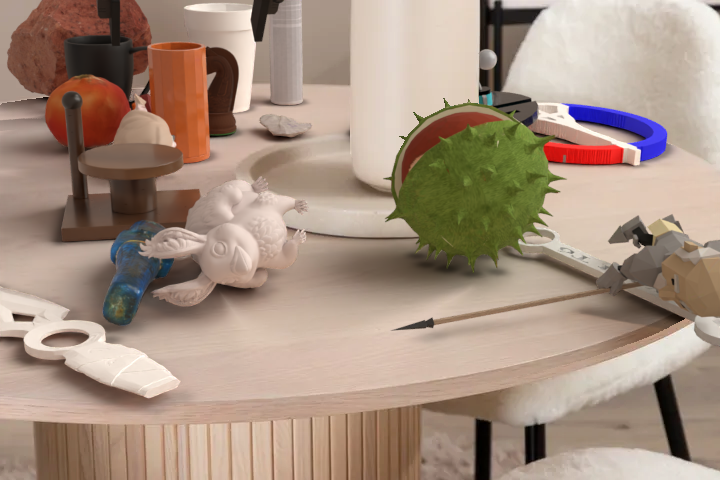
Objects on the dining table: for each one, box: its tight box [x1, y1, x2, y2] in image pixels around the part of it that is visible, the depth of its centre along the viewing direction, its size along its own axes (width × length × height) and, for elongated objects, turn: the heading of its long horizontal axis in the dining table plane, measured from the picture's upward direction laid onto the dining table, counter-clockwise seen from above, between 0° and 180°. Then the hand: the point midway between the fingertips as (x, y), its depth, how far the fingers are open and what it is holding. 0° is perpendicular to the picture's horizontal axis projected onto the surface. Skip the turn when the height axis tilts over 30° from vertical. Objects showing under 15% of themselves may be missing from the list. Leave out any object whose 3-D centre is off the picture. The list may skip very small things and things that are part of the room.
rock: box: [6, 0, 153, 97], centre depth 145 cm, size 20×15×15 cm
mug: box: [64, 35, 150, 111], centre depth 133 cm, size 8×12×10 cm
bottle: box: [268, 0, 304, 106], centre depth 141 cm, size 4×4×20 cm
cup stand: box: [60, 91, 202, 243], centre depth 94 cm, size 10×12×11 cm
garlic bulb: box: [112, 93, 176, 148], centre depth 108 cm, size 7×6×8 cm
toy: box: [390, 213, 720, 332], centre depth 78 cm, size 29×5×15 cm
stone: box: [258, 113, 313, 138], centre depth 127 cm, size 6×8×2 cm
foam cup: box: [183, 2, 257, 114], centre depth 138 cm, size 10×9×13 cm
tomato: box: [44, 74, 130, 149], centre depth 118 cm, size 9×9×8 cm
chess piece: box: [205, 46, 239, 136], centre depth 126 cm, size 5×5×10 cm
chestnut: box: [382, 98, 568, 274], centre depth 84 cm, size 15×14×15 cm
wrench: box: [512, 226, 720, 347], centre depth 82 cm, size 25×1×5 cm
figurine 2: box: [138, 175, 309, 307], centre depth 79 cm, size 8×15×13 cm
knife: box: [0, 285, 182, 399], centre depth 72 cm, size 6×28×1 cm, turn 47°
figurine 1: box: [101, 220, 176, 327], centre depth 79 cm, size 5×4×15 cm
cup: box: [147, 41, 211, 164], centre depth 115 cm, size 6×6×12 cm
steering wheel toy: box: [527, 102, 668, 166], centre depth 127 cm, size 22×25×2 cm
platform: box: [479, 81, 539, 127], centre depth 127 cm, size 22×22×6 cm
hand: (186, 32), depth 103 cm, fingers open, 13 cm apart
